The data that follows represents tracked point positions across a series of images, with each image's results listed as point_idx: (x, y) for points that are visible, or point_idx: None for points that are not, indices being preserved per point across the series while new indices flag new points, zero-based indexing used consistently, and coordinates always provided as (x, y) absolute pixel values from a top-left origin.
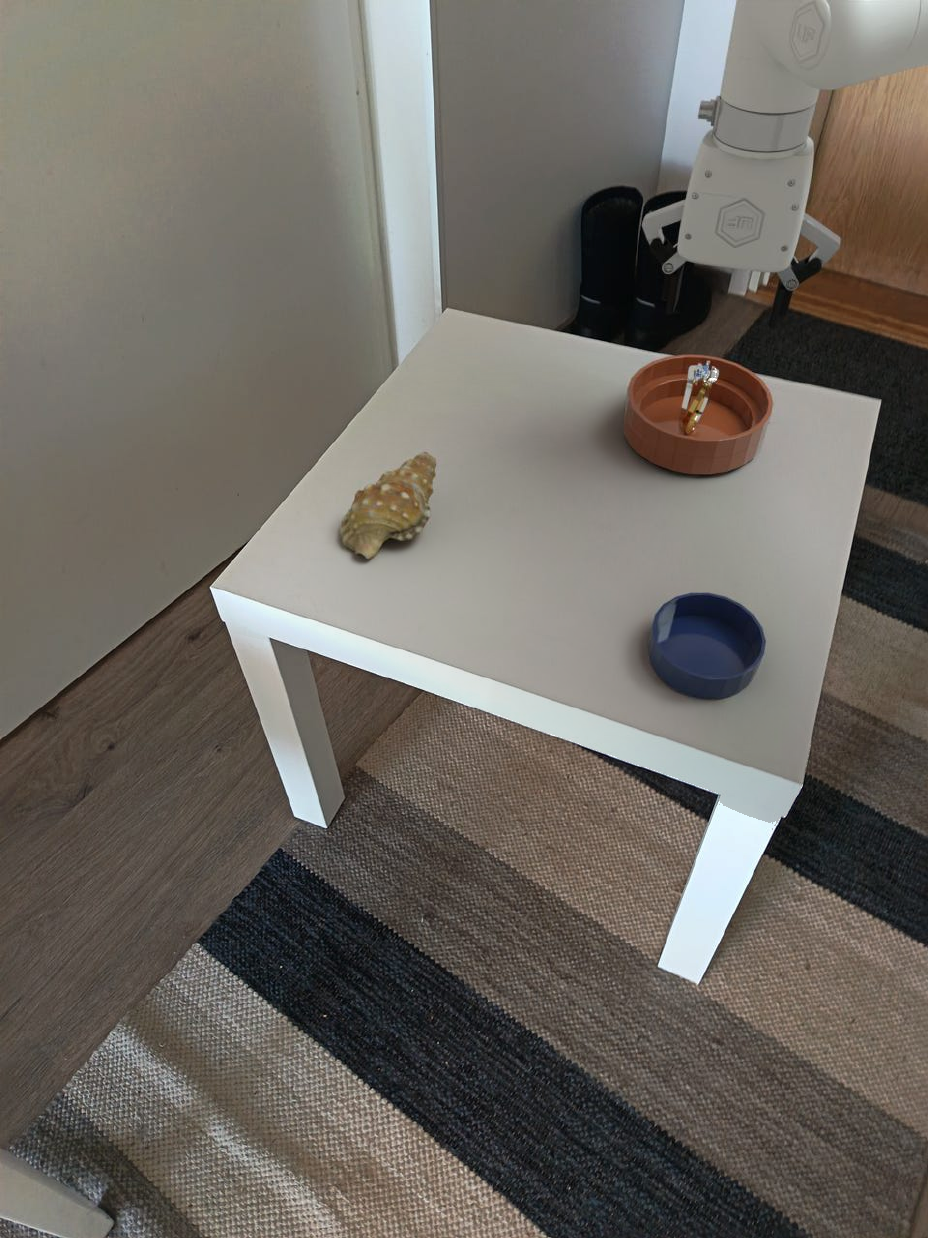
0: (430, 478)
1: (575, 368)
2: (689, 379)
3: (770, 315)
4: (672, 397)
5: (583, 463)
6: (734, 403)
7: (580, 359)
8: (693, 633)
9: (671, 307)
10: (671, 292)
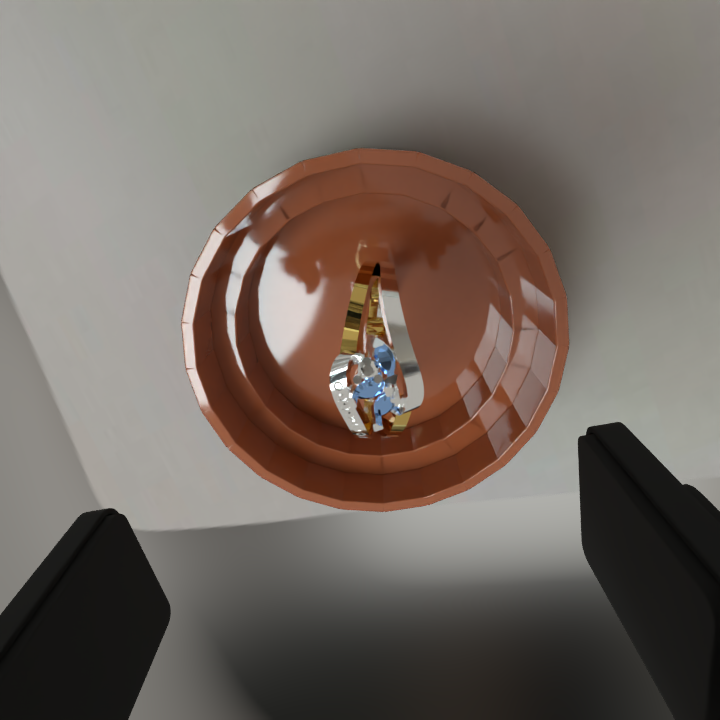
0: None
1: (689, 410)
2: (404, 342)
3: (91, 559)
4: (451, 403)
5: (577, 76)
6: (318, 428)
7: (685, 442)
8: None
9: (609, 443)
10: (678, 501)
